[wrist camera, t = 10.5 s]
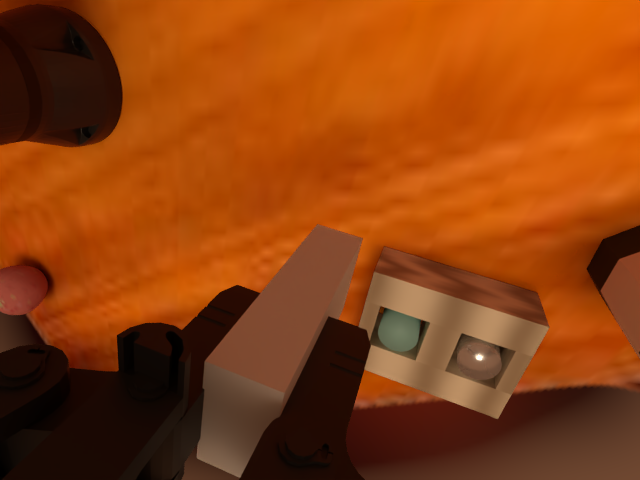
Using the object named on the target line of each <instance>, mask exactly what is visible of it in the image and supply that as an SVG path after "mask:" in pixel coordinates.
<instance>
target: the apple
mask: <svg viewBox="0 0 640 480" xmlns="http://www.w3.org/2000/svg"><path fill="white" fill-rule="evenodd" d="M47 290H48V282H47V279H46V277H45V276H44V274H43V273H42V272H41V271H40V270H39V269H37V268H34V267H31V266H25V265H16V266H10V267H6V268H3V269H1V270H0V311H1V312H3V313H6V314H9V315H22V314H26V313H28V312H30V311H32V310H33V309H35V308H36V307H37V306H38V305H39V304H40V303H41V301H42V300H43V299H44V297H45V295H46V293H47Z"/></svg>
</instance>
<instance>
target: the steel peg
mask: <svg viewBox="0 0 640 480" xmlns="http://www.w3.org/2000/svg"><path fill="white" fill-rule="evenodd" d="M457 365H458V367H459V369H460V371H461V372H462V373H463V374H465V375H466V376H468V377H470V378H473V379H477V380H487V379H491V378H493V377H495V376H496V375H497V374H498V373H499V372H500V370H501V367H502V363H501V356H500V349H499V345H496V344H493V343H490V342H487V341H484V340H481V339H478V338H475V337H472V336H469V335H466V334H463V333H461V335H460V338H459V340H458V342H457Z"/></svg>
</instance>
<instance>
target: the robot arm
mask: <svg viewBox="0 0 640 480" xmlns="http://www.w3.org/2000/svg"><path fill="white" fill-rule="evenodd" d="M121 102H122V93H121V84H120V79H119V74H118V71H117V67H116V65H115V62H114V60H113V57H112V55H111V53H110V51H109V49H108V47H107V45H106V44H105V42H104V41H103V39H102V38H101V36H100V35H99V34H98V33H97V31H96V30H95V29H94V28H93V27H92V26H91V25H90V24H89V23H88V22H87V21H86V20H84V19H83V18H82V17H80V16H79V15H77V14H76V13H74V12H72V11H70V10H67V9H65V8H61V7H55V6H48V5H39V4H36V5H26V6H23V7H19V8H16V9H12V10H9V11H5V12H2V13H0V145H4V144H9V143H15V142H20V141H30V142H37V143H44V144H51V145H58V146H65V147H80V146H85V145H89V144H94V143H97V142H100V141H102V140H103V139H105V138H106V137H107V136H108V135H109V134H110V133H111V132H112V131H113V129H114V128H115V126H116V124H117V121H118V119H119V115H120V111H121ZM362 239H363V238H360V237H356V236H353V235H350V234H347V233H344V232H341V231H337V230H334V229H331V228H328V227H325V226H322V225H318V224H317V225H316V227H315V228H314V229H313V230H312V232H311V233H310V234H309V235H308V236H307V238H306V239H305V240H304V241H303V242H302V244H301V245H300V246H299V247H298V249H297V250H296V251H295V252H294V253H293V255H292V256H291V257H290V258H289V259H288V261H287V262H286V263H285V264H284V266H283V267H282V268H281V269H280V270H279V272H278V273H277V274H276V275H275V276H274V278H273V279H272V280H271V281H270V283H269V284H268V285H267V286H266V287H265V289H264V290H263V291H262V292H261V293H258V292H256V291H253V290H250V289H247V288H245V287H242V286H239V285H236V286H233V287H231V288H229V289H227V290H224V291H222V292H220V293H219V294H218V295H217V296H216V297H215V298H214V299H213V300H212V301H211V302H210V303H209V304H208V306H207V307H205V308H204V309H203V310H202V311H201V312H200V313H199V314H198V316H197V317H195V318H194V319H193V320H192V321H191V322H190V323H189V324H188V325H187V326H186V327H185V328H184V329H183V330H181V329H179V328H177V327H176V326H173V325H169V324H164V323H144V324H141V325H137V326H134V327H130V328H128V329H127V330H125V331H123V332H122V333H120V334H118V335H117V346H118V364H119V370H118V371H117V372H112V371H95V370H85V369H75V368H69V362H68V358H67V357H66V355H65V354H64V352H63V351H62V350H60V349H58V348H56V347H54V346H51V345H41V344H33V345H26V346H19V347H16V348H13V349H10V350H8V351H5V352H2V353H0V480H181V479H182V477H183V475H184V463H185V461H186V460H187V458H188V456H189V455H190V454H191V452H192V451H193V449H194V448H195V446H196V445H197V443H198V448H197V449H198V450H197V459H200V460H202V461H204V462H206V463H208V464H211V465H213V466H215V467H217V468H220V469H222V470H224V471H226V472H228V473H231V474H233V475H235V476H237V477H239V478H240V479H239V480H365V479H364V478H363V477H362V476H361V475H360V474H359V473H358V472H357V470H356V469H355V467H354V466H353V464H352V463H351V460H350V457H349V455H348V452H347V447H346V433H347V427H348V424H349V421H350V417H351V413H352V410H353V407H354V403H355V400H356V396H357V393H358V390H359V386H360V383H361V379H362V375H363V372H364V369H365V365H366V362H367V358H368V355H369V351H370V348H371V344H370V341H369V337H368V333H367V330H366V329H363V328H360V327H357V326H355V325H352V324H349V323H346V322H343V321H341V320H338V319H339V316H340V314H341V312H342V310H343V307H344V304H345V300H346V296H347V293H348V289H349V286H350V282H351V278H352V275H353V271H354V268H355V264H356V261H357V257H358V253H359V250H360V246H361V243H362Z"/></svg>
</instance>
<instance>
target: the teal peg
mask: <svg viewBox="0 0 640 480" xmlns="http://www.w3.org/2000/svg"><path fill="white" fill-rule="evenodd" d="M420 324H421V319H418V318H415V317H412V316H409V315H406V314H403V313H400V312H397V311H394V310H391V309H388V308H385V309H384V312H383V316H382V319H381V322H380V326H379V329H378V336H379V339H380V341H381V342H382V343H383V344H384V345H385V346H386V347H387V348H389V349H391V350H394V351H399V352H404V351H408V350H411V349H412V348H414V347H415V346H416V344H417V342H418V337H419V330H420Z"/></svg>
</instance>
